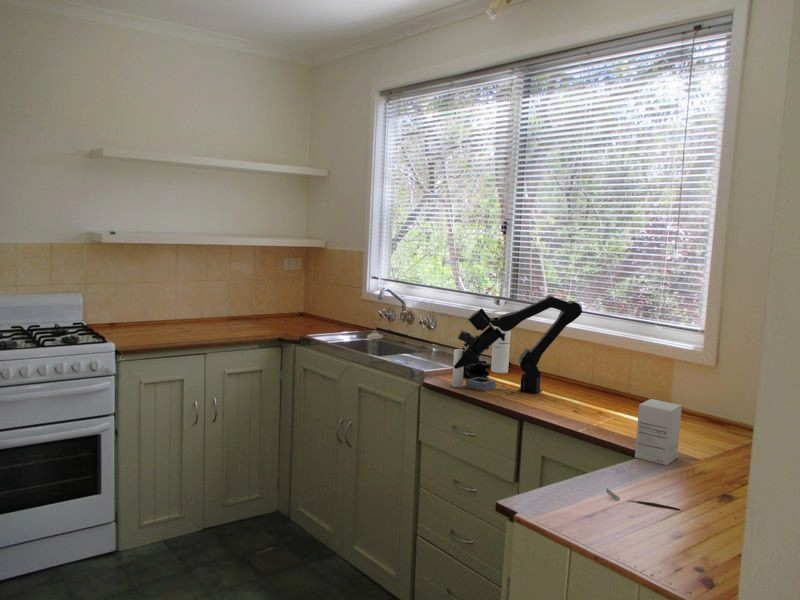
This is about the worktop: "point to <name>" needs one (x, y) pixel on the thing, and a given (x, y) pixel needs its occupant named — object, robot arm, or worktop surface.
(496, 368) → the cylindrical container
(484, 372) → the end cap
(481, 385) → the square frame
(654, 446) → the supplement box
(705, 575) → the worktop surface
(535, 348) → the robot arm
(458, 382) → the white tapered peg
